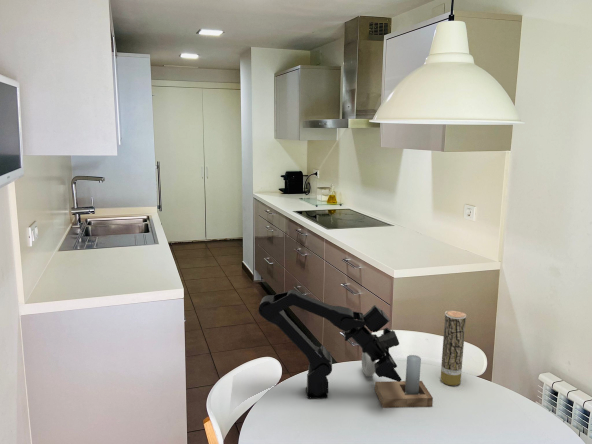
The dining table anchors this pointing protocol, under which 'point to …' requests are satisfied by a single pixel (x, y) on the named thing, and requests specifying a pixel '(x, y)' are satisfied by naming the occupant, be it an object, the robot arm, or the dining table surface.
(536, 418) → the dining table surface
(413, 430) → the dining table surface
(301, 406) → the dining table surface
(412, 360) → the peg
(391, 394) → the socket block
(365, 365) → the donut
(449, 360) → the bark textured cylinder
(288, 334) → the robot arm
